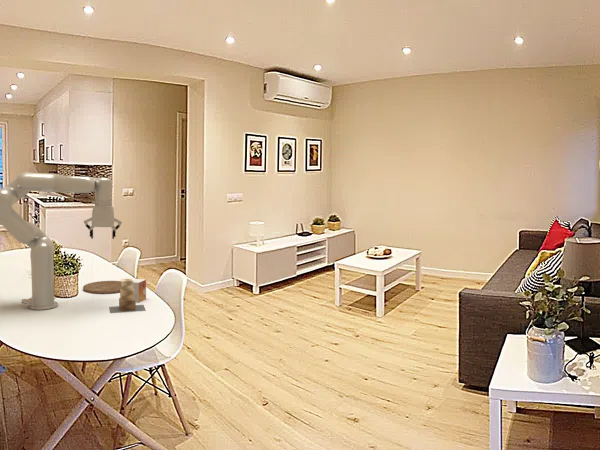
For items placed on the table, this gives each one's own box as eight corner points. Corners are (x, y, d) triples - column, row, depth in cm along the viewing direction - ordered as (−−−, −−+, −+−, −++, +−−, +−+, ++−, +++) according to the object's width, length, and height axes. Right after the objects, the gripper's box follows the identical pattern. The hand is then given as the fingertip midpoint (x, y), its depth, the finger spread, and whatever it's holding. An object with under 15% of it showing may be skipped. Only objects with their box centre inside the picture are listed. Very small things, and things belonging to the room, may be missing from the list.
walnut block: (120, 311, 247) (120, 301, 247) (119, 307, 254) (119, 298, 253) (135, 310, 250) (135, 300, 250) (134, 306, 256) (134, 297, 256)
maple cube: (121, 291, 248) (121, 281, 247) (121, 289, 252) (121, 279, 252) (133, 291, 249) (133, 280, 249) (132, 288, 254) (132, 278, 254)
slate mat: (110, 313, 244) (110, 313, 244) (108, 307, 254) (108, 306, 254) (145, 311, 250) (145, 310, 250) (143, 305, 260) (143, 304, 260)
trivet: (140, 286, 298) (140, 283, 298) (111, 296, 275) (111, 293, 275) (104, 282, 307) (104, 278, 306) (72, 291, 283) (72, 288, 283)
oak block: (121, 301, 248) (121, 292, 247) (120, 298, 253) (120, 289, 253) (134, 300, 250) (134, 291, 249) (133, 297, 255) (133, 288, 255)
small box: (138, 303, 264) (138, 282, 262) (128, 302, 265) (128, 281, 263) (146, 299, 271) (146, 279, 270) (136, 298, 272) (136, 278, 271)
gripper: (83, 203, 249) (83, 239, 251) (122, 204, 255) (121, 239, 257) (84, 202, 256) (83, 237, 258) (122, 203, 262) (121, 237, 264)
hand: (102, 238), depth 257 cm, fingers open, 9 cm apart
